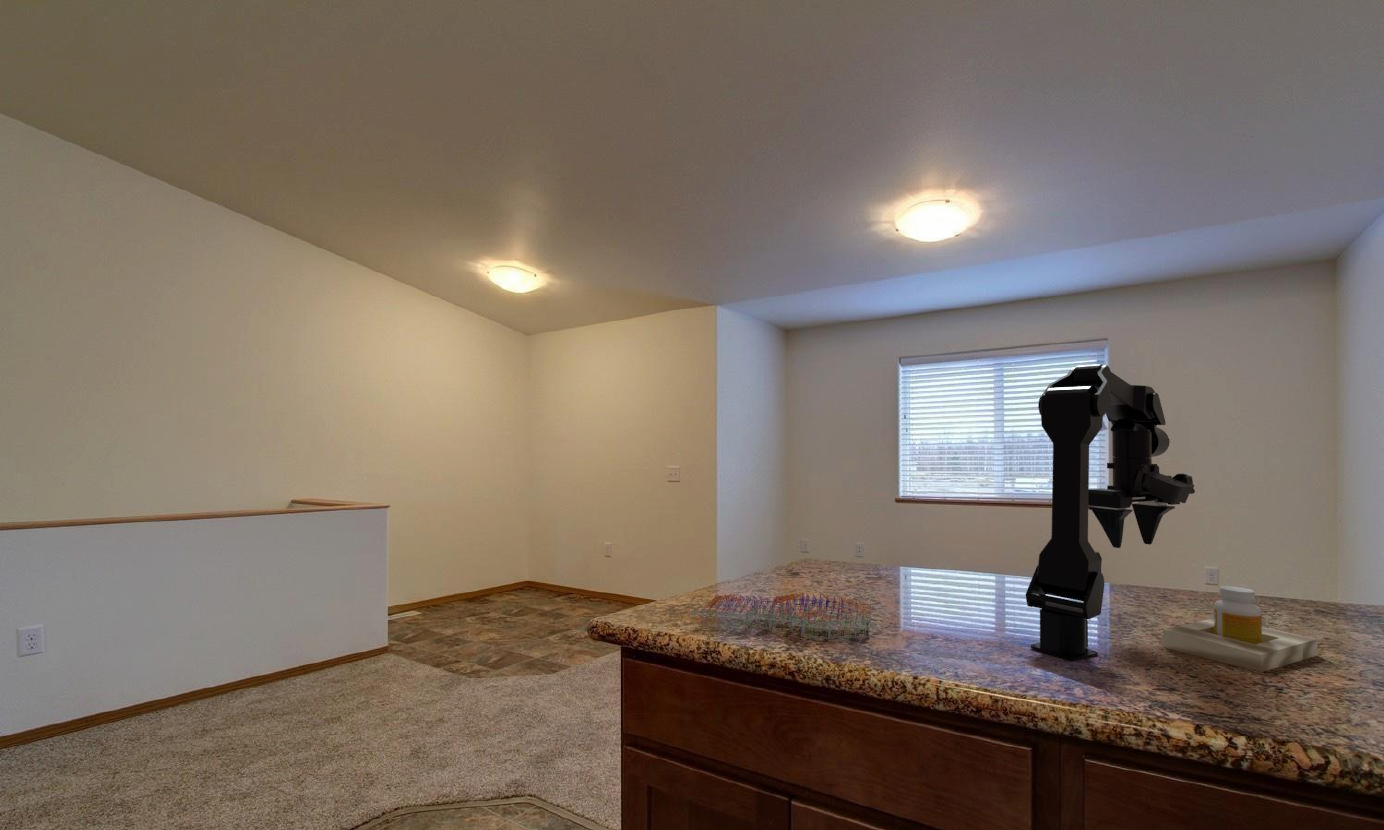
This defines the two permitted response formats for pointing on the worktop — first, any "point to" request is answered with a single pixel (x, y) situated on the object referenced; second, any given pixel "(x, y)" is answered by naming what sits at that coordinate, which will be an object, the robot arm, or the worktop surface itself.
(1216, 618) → the supplement bottle
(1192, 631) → the bored board
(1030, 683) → the worktop surface
